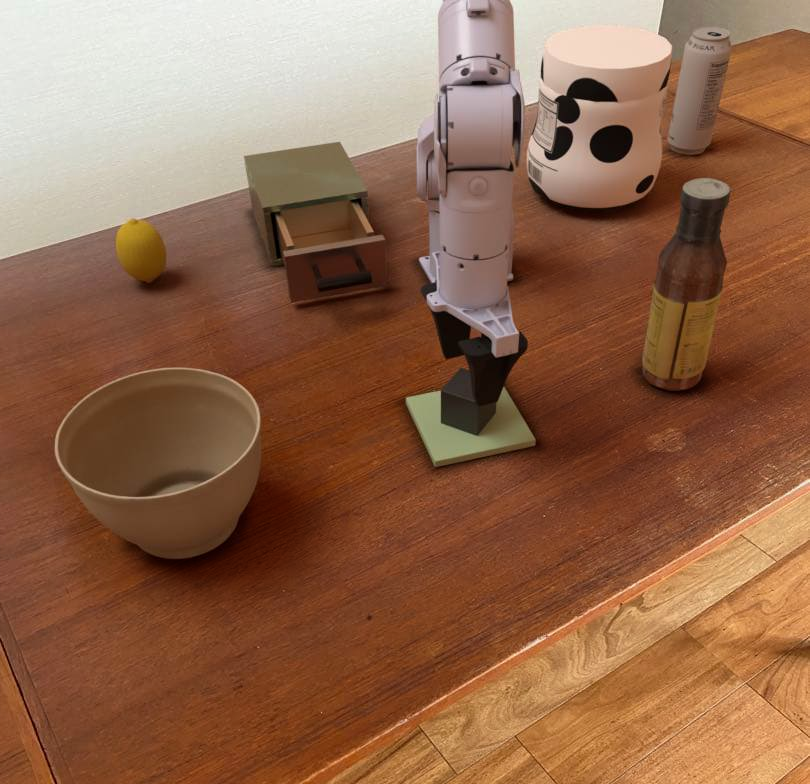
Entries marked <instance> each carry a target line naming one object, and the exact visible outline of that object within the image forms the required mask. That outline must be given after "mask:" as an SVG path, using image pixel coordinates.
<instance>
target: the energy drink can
mask: <svg viewBox="0 0 810 784" xmlns="http://www.w3.org/2000/svg"><path fill="white" fill-rule="evenodd" d="M691 32H692V33H691V34H692V35H691V36H690V37H689V39H688V40H687V41H686V43H685V45H684V50H683V56H682V61H681V65H680V71H679V76H678V82H677V87H676V91H675V92H676V93H675V96H674V102H673V108H672V113H671V118H670V124H669V130H668V134H667V142H668V144H670V145H669V148H670V149H671V150H672V152H675V153H677V154H680V155H685V156H693V155H699V154H702V153H703V152H705V150H706V148H707V147H709V146H710V145H711V142H712V137H713V133H714V129H715V124H716V120H717V115H718V112H719V106H720V102H721V99H722V98H721V97H722V94H723V89H724V85H725V80H726V76H727V72H728V67H729V63H730V58H731V55H732V49H733V46H732V43H731V40H730V37H731V31H729V30H728V29H726V28H722V27H718V26H699V27H697V28H694V29H693V30H692V31H691Z"/></svg>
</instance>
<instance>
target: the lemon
mask: <svg viewBox="0 0 810 784" xmlns="http://www.w3.org/2000/svg"><path fill="white" fill-rule="evenodd" d="M165 245H166V244H165V242H164V240H163V238H162V236H161V234H160V233H159V231H158V230H157V229H156V227H155V226H154V225H152V224H151V223H149V222H147V221H145V220H142V219H137V218H135V217H133V218H132V217H131V218H130V219H129V220H127V222H125V223H123V224H122V225H121V226H120V228H119V229H118V231H117V234H116V237H115V251H116V256H117V258H118V261H119V263H120V266H121V267H122V269H123V271H125V273H126V274H127V275H128V276H130V277H131V278H133V279H135V280H137V281H141V282H142V281H143V282H146V283H147V284H150V283H152V282H154V280H155V279H157V278H158V277H159V276H160V275H162V273H163V272H164V270H165V268H166V265H167V250H166V246H165Z"/></svg>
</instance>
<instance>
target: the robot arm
mask: <svg viewBox="0 0 810 784" xmlns="http://www.w3.org/2000/svg"><path fill="white" fill-rule="evenodd" d="M514 14H515V13H514V7H513V4H512V2H511V1H510V0H442V4H441V6H440V7H439V10H438V14H437V44H438V45H437V48H438V49H437V50H438V51H437V53H438V54H437V55H438V56H437V57H438V93H435V95H434V100H433V113H432V114H430V115H429V116H427V117H426V118H425V119H424V120H423V121H421V122H420V123H419V128H417V144H416V191H417V192H416V193H417V197H418V198H419V199H420V201H421V202H427V209H428V240H429V241H428V243H429V245H428V248H429V250H428V251H429V252H428V254H429V255H426V256H421V257H419V258H418V262H419V265H420V266H421V268H422V270H423V271H424V273H425V275H426V277H427V278H428V280H429V281H430V283H426V284H424V285H422V286H421V288H420V293H421V295H422V296H423V298H424V300H425V301H426V304H427V307H428V308H429V309H430V313H431V316H432V318H433V321H434V325H435V328H436V332H437V336H438V341H439V345H440V349H441V352H442V356H443V357H444V358H445V360H451V359H455V358H459V357H463V356H464V358H465V361H466V363H467V367H468V370H469V371H470V376H471V385H472V394H473V398H474V401H475V403H476V404H477V406H483V405H487V404H491V403H495V402H498V400H499V397H500V395H501V392H502V390H503V387H505V385H506V381H507V379H508V377H509V375H510V373H511V371H512V369H513V367H514V366H515V365H516V363H517V362H518V360H519V359H520V358H521V357H522V356H523V355H524V354H525V353H526V352H527V350H528V346H529V345H528V344H529V340H528V339H527V337H526V336H525V335H524V334H523V332H522V331H520V330H518V329H517V327H516V325H515V322H514V317H513V311H512V303H511V296H510V290H509V286H508V282H511V281H513V280H514V274H513V273H512V271H513V270H512V269H513V255H514V254H513V253H514V242H515V241H514V240H515V216H514V210H513V197H514V196H513V195H514V182H515V181H514V180H515V167H516V169H518V168H520V165H521V160H522V156H523V152H524V145H525V134H526V130H525V129H526V106H525V105H526V103H525V99H524V98H525V97H524V92H523V86H522V82H521V76H520V70H519V69H516V51H515V50H516V49H515V45H516V44H515V20H514V17H515V15H514ZM512 150H513V151H512ZM512 153H514V163H515V164H513V162H512ZM514 165H515V166H514ZM472 328H473V329H474V330H476V331H478V332H479V333H480V336H476V337H472V338H471V331H472Z"/></svg>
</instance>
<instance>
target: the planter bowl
mask: <svg viewBox="0 0 810 784" xmlns="http://www.w3.org/2000/svg"><path fill="white" fill-rule="evenodd" d="M55 434H56V435H55V439H54V455H55V460H56V461H57V464H58V466H59V469H60V470H61V472H62V473H63V475H64V477H65V478H66V480H67V481H68V482H69V483H70V485H71V487H72V489H73V491H74V492H75V494H76V496H77V497H78V499H79V500H80V502H81V504H83V505H84V507H85V508H86V510H88V512H89V513H90V514H91V515H92V516H93V517H94V518H95V519H96V520H97V521H98V522H99V523H101V524H102V525H103V526H104V527H105V528H106V529H108V530H109V531H111V532H112V533H114V534H115V535H117V536H119V537H120V538H122V539H124V540H125V541H128V542H129V543H132V544H134V545H137V546H138V547H139V548H140V549H141V550H143V551H144V552H145V553H147V554H149V555H152V556H155V557H156V558H162V559H168V560H181V559H190V558H194V557H197V556H200V555H203V554H206V553H208V552H210V551H213V550H214V549H216V548H217V547H219V546H220V545H222V544H223V543H224V542H225V541H227V539H228V538H229V537H230V536H231V534H233V532H234V531H235V529H236V528H237V525H238V522H239V519H240V516H241V515H242V513H243V512H244V510H245V509H246V507H247V505H248V504H249V502H250V500H251V498H252V496H253V494H254V491H255V488H256V486H257V483H258V479H259V477H260V470H261V469H260V468H261V465H262V439H261V434H262V417H261V411H260V408H259V405H258V403H257V401H256V399H255V398H254V396H253V395H252V393H250V391H249V390H247V389H246V388H245V387H244V386H243V385H242V384H240V383H239V382H237V381H236V380H235V379H232V378H231V377H228V376H226V375H223V374H220V373H218V372H213V371H211V370H205V369H199V368H192V367H160V368H155V369H154V368H153V369H149V370H143V371H139V372H134V373H131V374H129V375H125V376H123V377H120V378H117V379H115V380H113V381H109V382H108V383H106V384H104V385H102V386H100V387H98V388H96V389H95V390H93V391H91V392H90V393H89V394H87V395H86V396H85V397H83V398H82V399H81V400H80V401H79V402H77V404H75V406H73V407H72V409H71V410H70V411H69V412H68V413H67V414H66V415H65V417H64V418H63V420H62V422H61V423H60V424H59V427H58V429H57V432H56V433H55Z"/></svg>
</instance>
